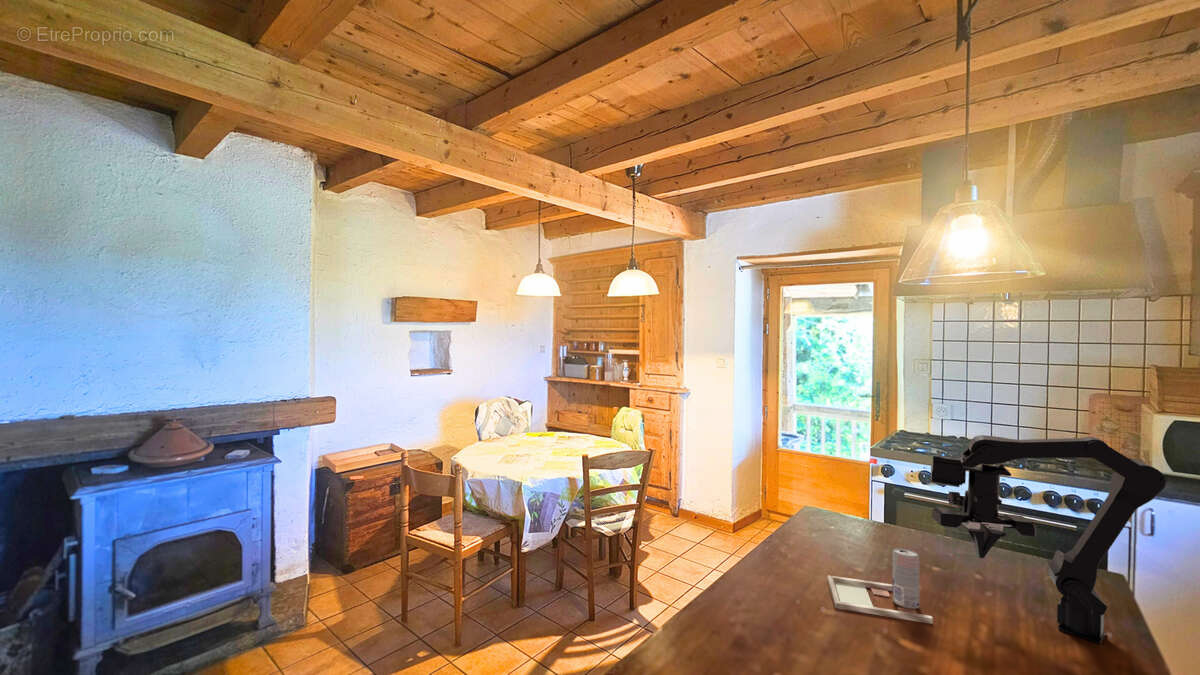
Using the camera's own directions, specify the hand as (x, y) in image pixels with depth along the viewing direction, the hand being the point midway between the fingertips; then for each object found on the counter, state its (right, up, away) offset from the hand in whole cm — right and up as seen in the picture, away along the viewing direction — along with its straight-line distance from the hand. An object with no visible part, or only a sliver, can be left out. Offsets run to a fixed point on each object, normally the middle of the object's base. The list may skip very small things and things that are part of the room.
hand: (980, 557), depth 115 cm
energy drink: (-17, -12, +1) cm, 20 cm away
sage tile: (-27, -12, +5) cm, 30 cm away
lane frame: (-22, -12, +3) cm, 25 cm away
